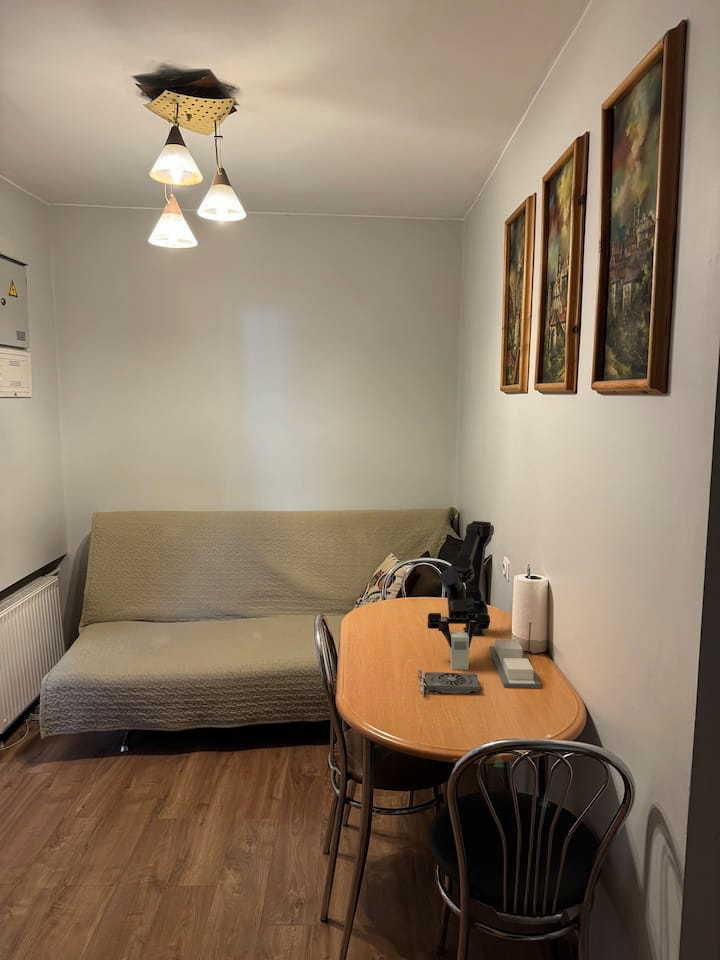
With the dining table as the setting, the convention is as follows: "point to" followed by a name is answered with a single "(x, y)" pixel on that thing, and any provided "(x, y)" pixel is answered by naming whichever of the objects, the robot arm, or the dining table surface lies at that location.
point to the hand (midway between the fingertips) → (460, 647)
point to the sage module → (459, 651)
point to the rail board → (513, 665)
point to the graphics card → (448, 682)
